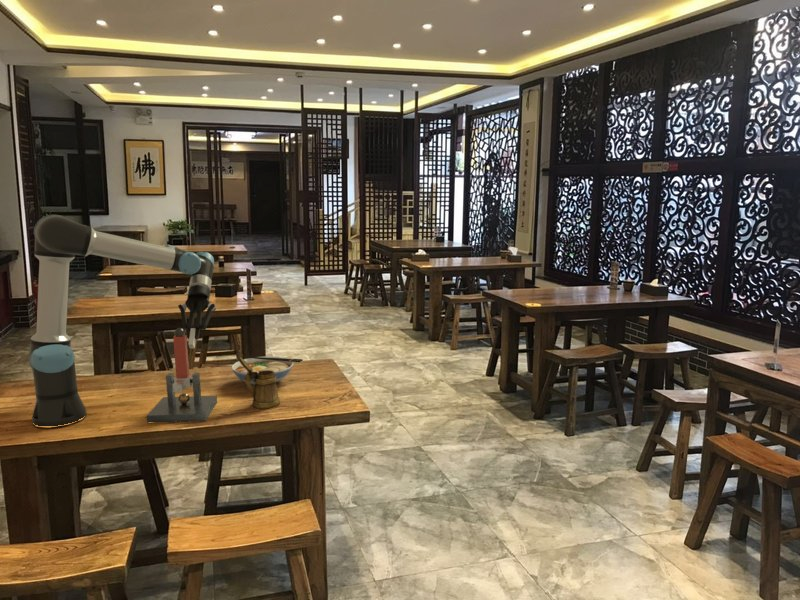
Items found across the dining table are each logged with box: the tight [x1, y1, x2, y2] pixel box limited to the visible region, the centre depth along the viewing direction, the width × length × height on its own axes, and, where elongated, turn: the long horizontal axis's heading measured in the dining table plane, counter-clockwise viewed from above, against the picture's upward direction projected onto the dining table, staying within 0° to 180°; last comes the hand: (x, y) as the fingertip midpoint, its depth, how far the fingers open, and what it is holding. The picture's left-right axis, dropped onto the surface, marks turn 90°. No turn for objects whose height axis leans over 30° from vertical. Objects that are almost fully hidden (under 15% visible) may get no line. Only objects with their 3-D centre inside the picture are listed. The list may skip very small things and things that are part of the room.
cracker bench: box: [146, 371, 218, 423], centre depth 201 cm, size 18×17×12 cm
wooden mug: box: [236, 355, 281, 410], centre depth 207 cm, size 9×14×18 cm, turn 105°
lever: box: [172, 327, 193, 393], centre depth 198 cm, size 6×8×20 cm
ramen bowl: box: [231, 355, 303, 386], centre depth 231 cm, size 25×23×8 cm
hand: (191, 346), depth 210 cm, fingers closed
